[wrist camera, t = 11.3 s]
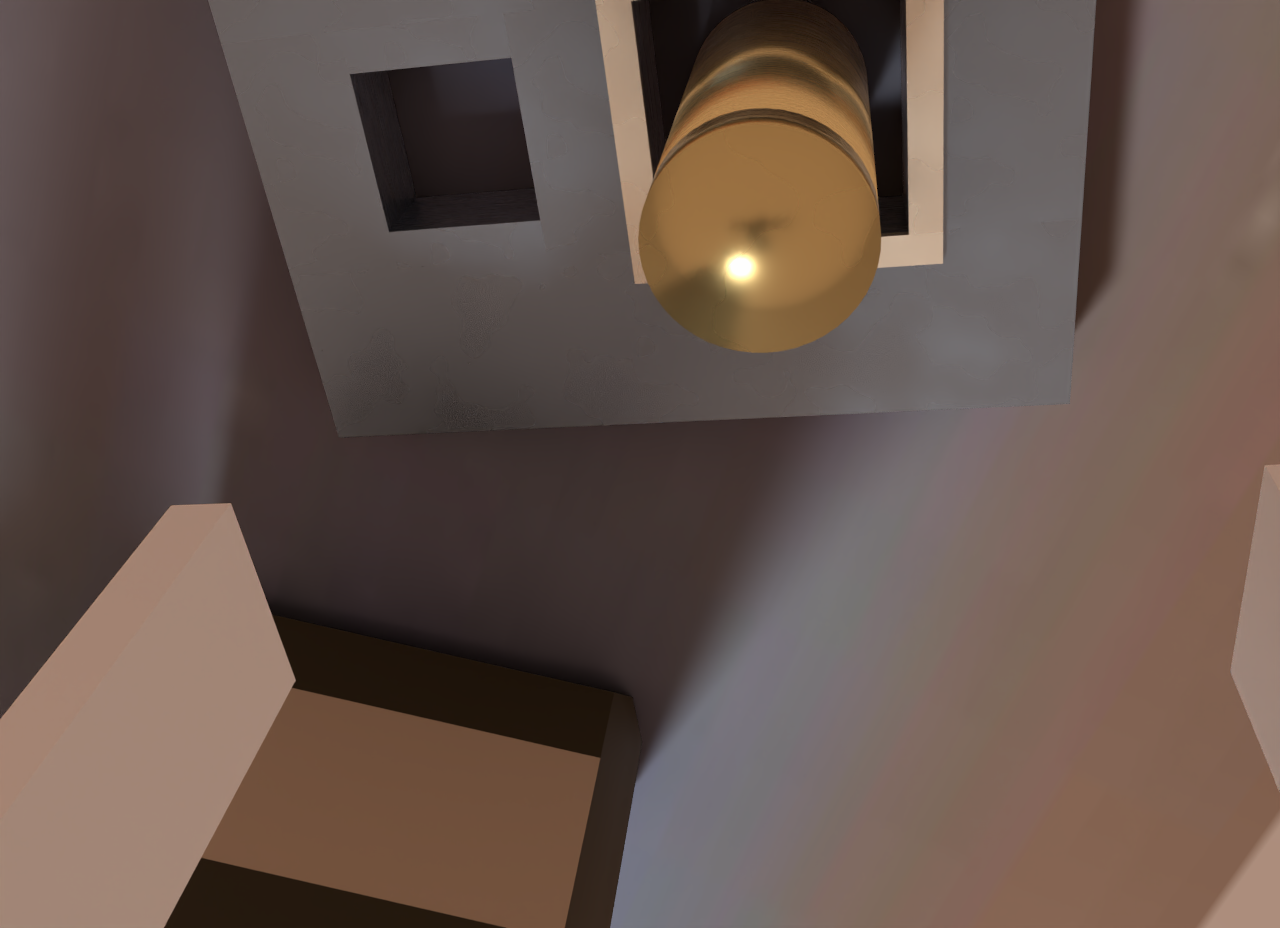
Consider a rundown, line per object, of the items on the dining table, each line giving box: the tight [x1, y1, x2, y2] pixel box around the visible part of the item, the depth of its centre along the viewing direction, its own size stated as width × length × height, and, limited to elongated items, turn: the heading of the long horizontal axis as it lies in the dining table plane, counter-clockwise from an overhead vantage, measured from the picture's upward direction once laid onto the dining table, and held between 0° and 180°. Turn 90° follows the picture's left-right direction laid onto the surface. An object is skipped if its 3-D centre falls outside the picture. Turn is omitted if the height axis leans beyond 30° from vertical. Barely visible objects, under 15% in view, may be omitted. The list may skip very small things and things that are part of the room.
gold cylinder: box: [638, 0, 881, 353], centre depth 26 cm, size 4×4×10 cm
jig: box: [208, 0, 1096, 438], centre depth 29 cm, size 20×16×6 cm
